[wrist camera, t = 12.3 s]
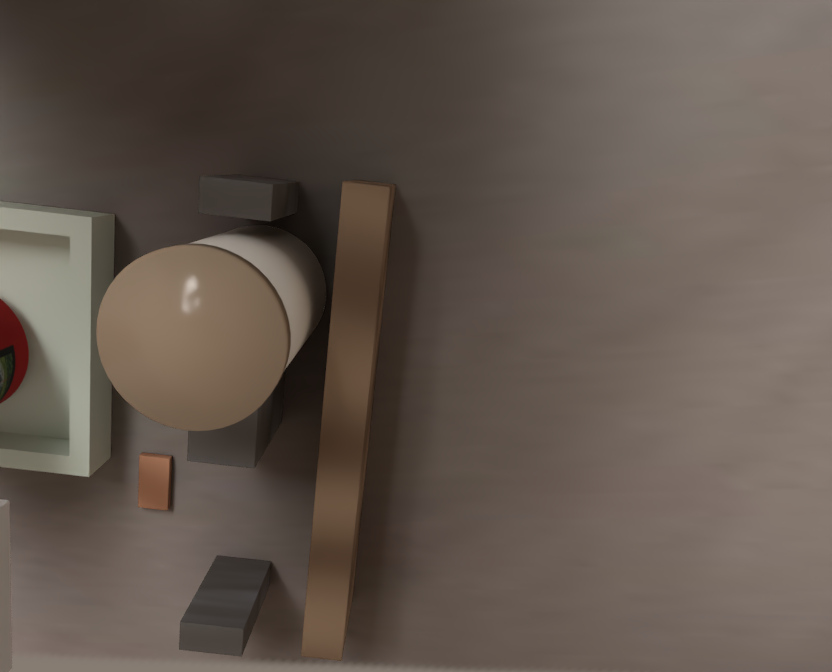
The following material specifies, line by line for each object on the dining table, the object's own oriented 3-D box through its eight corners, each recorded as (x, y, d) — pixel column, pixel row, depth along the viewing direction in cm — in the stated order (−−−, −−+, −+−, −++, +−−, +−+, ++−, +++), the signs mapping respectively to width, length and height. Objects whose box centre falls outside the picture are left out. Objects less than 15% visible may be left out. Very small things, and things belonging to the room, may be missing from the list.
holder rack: (150, 156, 35) (94, 153, 29) (395, 184, 35) (388, 187, 29) (138, 577, 40) (89, 646, 35) (352, 601, 40) (338, 674, 35)
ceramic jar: (197, 215, 36) (97, 235, 25) (333, 231, 36) (291, 258, 25) (191, 347, 37) (95, 419, 27) (322, 362, 37) (278, 440, 27)
